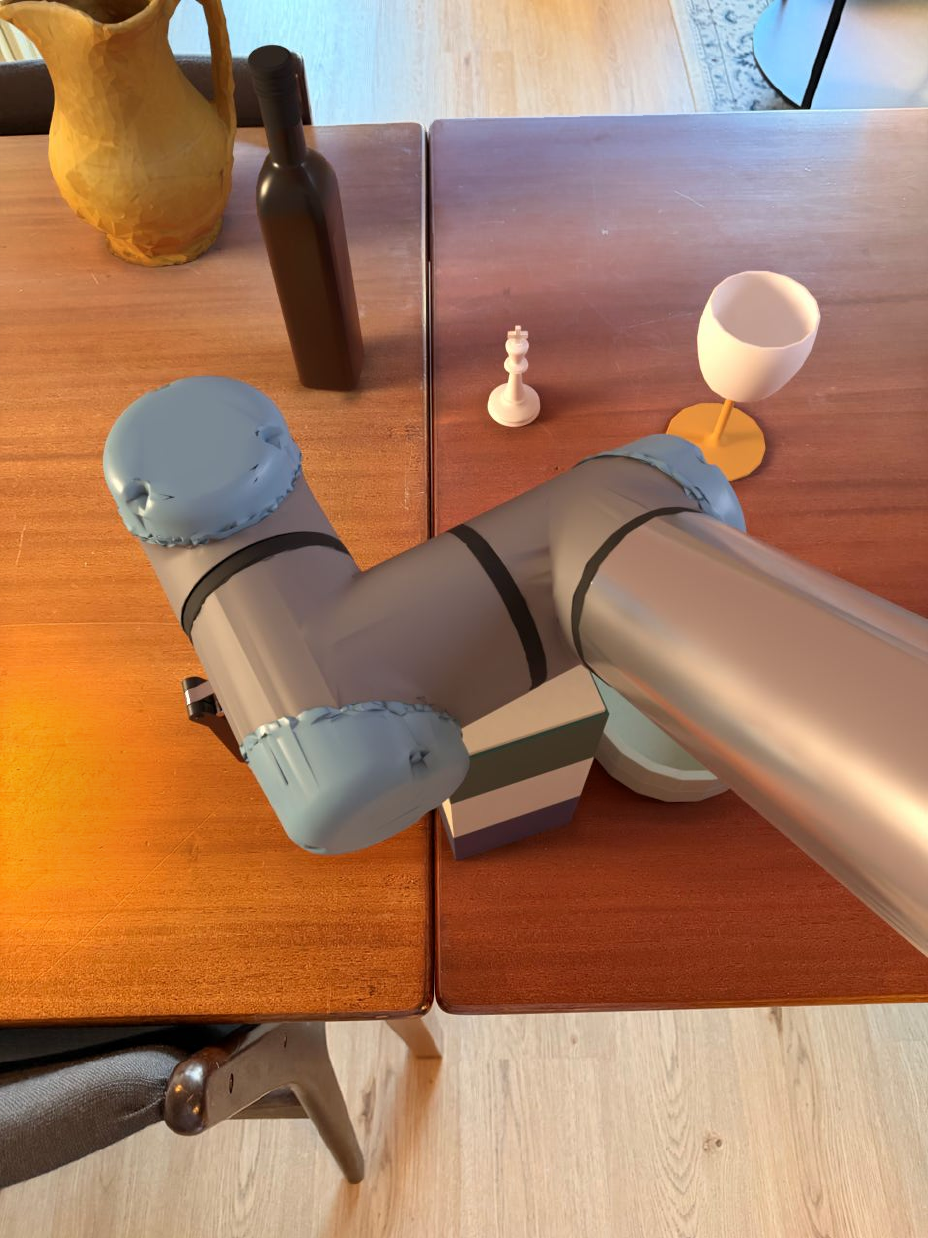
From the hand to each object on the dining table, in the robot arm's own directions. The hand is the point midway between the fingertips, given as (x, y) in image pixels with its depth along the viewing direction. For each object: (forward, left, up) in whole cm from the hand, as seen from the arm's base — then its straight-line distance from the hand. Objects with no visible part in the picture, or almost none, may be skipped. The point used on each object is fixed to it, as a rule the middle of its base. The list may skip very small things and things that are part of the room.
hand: (331, 756), depth 69 cm
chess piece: (+28, -25, -1) cm, 38 cm away
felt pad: (-7, -11, +22) cm, 25 cm away
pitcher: (+63, +1, -1) cm, 63 cm away
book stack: (-7, -11, 0) cm, 13 cm away
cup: (+18, -41, -1) cm, 45 cm away
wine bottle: (+38, -10, -1) cm, 39 cm away
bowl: (-5, -26, 0) cm, 26 cm away
